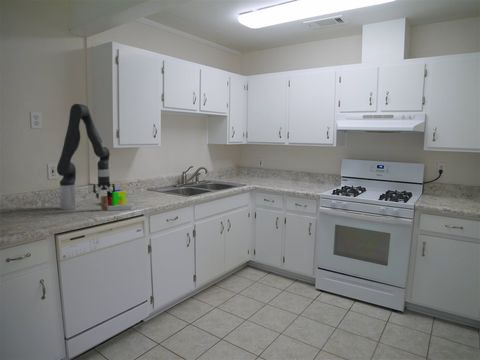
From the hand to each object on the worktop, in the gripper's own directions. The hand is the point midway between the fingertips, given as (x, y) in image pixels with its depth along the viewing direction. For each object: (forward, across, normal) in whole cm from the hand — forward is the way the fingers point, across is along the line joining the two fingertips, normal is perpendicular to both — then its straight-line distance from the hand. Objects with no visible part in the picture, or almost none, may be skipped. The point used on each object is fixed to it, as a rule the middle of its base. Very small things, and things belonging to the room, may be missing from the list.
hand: (104, 198), depth 231 cm
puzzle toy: (+9, +6, +21) cm, 24 cm away
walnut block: (+9, 0, 0) cm, 9 cm away
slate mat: (+9, +10, +3) cm, 13 cm away
